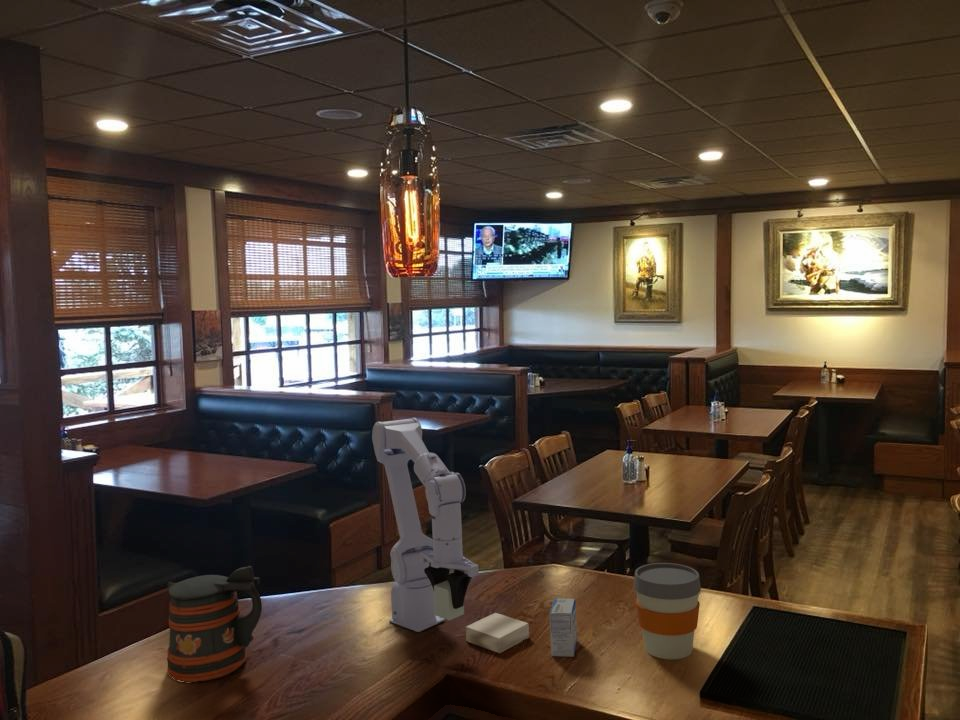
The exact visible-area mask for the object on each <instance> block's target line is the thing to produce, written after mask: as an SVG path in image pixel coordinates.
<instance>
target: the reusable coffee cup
mask: <svg viewBox="0 0 960 720" xmlns="http://www.w3.org/2000/svg"><path fill="white" fill-rule="evenodd" d="M701 587H702V586H701V581H700V574H699V572H698V571H697V570H696V569H694V568H693V567H691V566H687V565H684V564H679V563H672V562H656V563H655V562H654V563H648V564H643V565H641V566H638V568H636V569H635V571H634V579H633V589H634V590H635V591H636V599H635V607H636V614H637V619H638V625H639V626H640V627H641V630H642V631H641V632H642V638H643V645H644V650H645V651H646V653H647V654H649V655H650V656H652V657H654V658H658V659H663V660H680V659H684V658H685V659H686V658H687V657H689V656H690V655H691V654H692V653H693V647H694V645H693V644H694V638H695V631H696V630H697V628H698V623H699V613H700V603H701V602H700V601H699V594H700V593H701V591H702V590H701V589H702V588H701Z"/></svg>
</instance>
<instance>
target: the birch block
mask: <svg viewBox="0 0 960 720" xmlns="http://www.w3.org/2000/svg"><path fill="white" fill-rule="evenodd" d="M529 626H530V625H529V622H526V621H522V620H520V619H516V618H513V617H510V616H507V615H504V614H500V613H497V612H494V613H492V614H490V615H488V616H485V617H483V618H481V619H480V620H477V621H474V622H473V623H471V624H469V625H467V626H465V636H466V637H465V640H466V642H467V641H468V643H471V644H474V645H476V646H479V647H482V648H484V649H487V650H490V651H493V652H495V653H498V654H501V653H503V652H505V651H507V650H508V649H511V648H512V647H514V646H517V645H518V644H520V643H522V642H524V641H525V639H526V640H527V639H529V638H530V629H529V628H530V627H529ZM523 640H524V641H523Z"/></svg>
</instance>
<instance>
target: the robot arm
mask: <svg viewBox="0 0 960 720" xmlns="http://www.w3.org/2000/svg"><path fill="white" fill-rule="evenodd" d="M371 440H372V441H371V442H372V444H373V451H374V455H375V457H376V460H377V462H379V463H380V464H382V465H384V468H385V469H384V470H385V474H386V478H387V484H388V489H389V491H390V496H391V500H392V506H393V510H394V516H395V520H396V525H397V529H398V534H399V540H398V541H397V542H396V543H395V544H394V545H393V546H392V548H391V550H390V553H389V555H390V561H391V564H390V569H391V575H392V578H393V580H394V583H393V584H392V586H391V590H390V599H391V600H390V601H391V603H390V604H391V605H390V606H391V617H390V618H389V621H388V622H390V623H393V624H395V625H397V626H400V627H402V628H405V629H408V630H410V631H414V632H416V633H419V632H420V633H421V632H422V631H424V630H427V629H429V628H431V627H433V626H435V625H438V624H440V623H441V622H444V621H445V620H446V619H444V618H441V617H439V616H436V615H435V596H434V585H437V584H439V583H442V582H444V581H447V580H448V582H449V585H450V589H451V595H452V604H453V608H454V609H458V608H460V607H462V606H463V604H464V603H465V599H466V594H467V590H468V587H469V584H470V583H471V580H472V578H473V577H476V576H478V575H479V573H480V572H479V571H480V570H479V564H477V563H475V562H472V561H471V560H469V559H468V558H466V557H465V556H464V555H463V532H462V531H463V527H462V508H461V506H462V505H461V503H463V502H464V501H465V499H466V495H467V493H466V492H467V491H466V484H465V481H464V478H463V477H462V475H461V474H460V473H459V472H454V471H450V470H449V469H448V467H447V466H446V464H445V463H444V462H443V461H442V459H441V458H440V457H439V455H438V454H436V453H435V452H430V451H429V450H428V448H427V447H426V444H425V443H424V441H423V427H422V424H421V423H420V421H419V420H418V419H417V418H416V417H411V418H406V419H405V418H404V419H398V420H396V419H395V420H388V421H376V422H375V423H374V425H373V427H372V434H371ZM410 460H411V461H412V462H413V463H414V464H413V472H414V473H415V475H416V476H417V478H418V479H419V480H420V482H421V484H422V485H423V487H424V488H425V489H424V492H425V498H426V500H427V504H428V511H429V512H428V513H429V515H431V530H432V538H431V537H429V536H428V535H425V534H424V533H423V530H422V525H421V521H420V517H419V513H418V508H417V503H416V499H415V498H416V497H415V495H414V490H413V485H412V481H411V476H410V471H409V467H408V463H409V461H410ZM451 570H452V571H453V572H451V573H450V571H451ZM464 605H465V604H464Z"/></svg>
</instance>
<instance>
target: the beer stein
mask: <svg viewBox="0 0 960 720" xmlns="http://www.w3.org/2000/svg"><path fill="white" fill-rule="evenodd" d="M254 574H255V573H254V569H253V567H252V566H251V565H248V566H244V567H239V568H238V569H235V570H234V571H233V572H232V573H231V574H230V575H228V576H224V575H220V574H205V575H199V576H197V575H196V576H194V577H190V578H187V579H184V580H181V581H178V582H171V581H168V582H167V589H168V595H169V596H170V597H171V599H170V601H169V610H168V611H169V612H168V626H169V641H168V642H169V644H168V647H167V658H166V661H167V669H166V670H167V673H169V674H168V676H169V675H170V676H171V677H173V678H174V679H175V680H180V681H184V682H194V683H198V681H201V682H208V681H211V680H215V679H216V680H217V679H221V678H222V677H225V676H228V675H230V674H232V673H234V672H235V671H237V670H238V669H239V667H240V668H241V667H242V666H244V664H243V663H245V662H246V660H247V657H248V655H247V654H248V653H247V648H248V646H250V644H251V642H252V641H253V640H254V638H255V637H254V635H252V633H254V630H255V629H256V627H257V625H258V623H259V621H260V618H261V615H262V610H263V604H262V599H261V596H260V595H261V594H260V593H259V591H258V589H257V588H256V586H258V585H260V583H261V577H259V576H257V577H256V576H255V575H254ZM237 592H243V593H246V594H247V595H248V596H249V597H250V598H251V599H250V600H251V602H252V608H251V611H250V612H249V613H248V614H246V615H242V616H240V613H241V606H240V604H239V599H238V593H237ZM170 676H169V677H170ZM171 677H170V678H171ZM174 679H173V680H174ZM175 680H174V681H175Z"/></svg>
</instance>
